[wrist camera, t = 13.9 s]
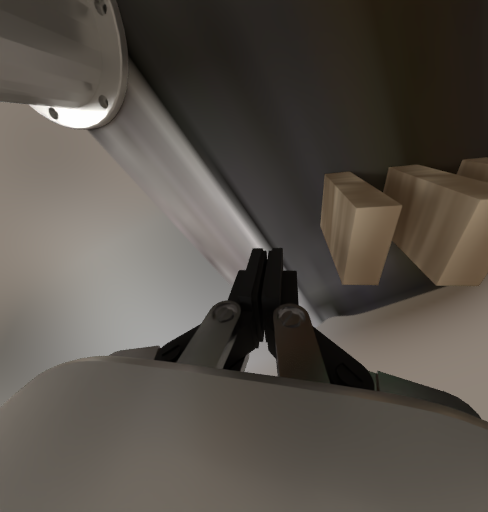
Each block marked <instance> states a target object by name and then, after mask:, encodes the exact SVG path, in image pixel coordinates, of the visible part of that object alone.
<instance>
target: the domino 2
mask: <svg viewBox="0 0 488 512" xmlns="http://www.w3.org/2000/svg"><path fill="white" fill-rule="evenodd" d="M383 193H384V194H386V195H387V196H389V197H390V198H392V199H393V200H395V201H397V202H398V203H400V204H401V205H402V209H401V212H400V215H399V218H398V222H397V225H396V228H395V231H394V235H393V238H392V241H393V242H394V243H395V244H396V245H397V246H398V247H399V248H400V249H401V250H402V251H403V252H404V253H405V254H406V255H407V256H408V257H409V258H410V259H411V260H412V261H413V262H414V263H415V264H416V265H417V266H418V268H419V269H420V270H421V271H422V272H423V273H424V274H425V275H426V276H427V277H428V278H429V279H430V280H431V281H432V282H433V283H434V284H435V285H436V286H479V285H480V284H481V282H482V281H483V279H484V277H485V276H486V275H487V273H488V183H487V182H483V181H479V180H475V179H471V178H468V177H464V176H460V175H456V174H452V173H448V172H444V171H441V170H437V169H433V168H429V167H425V166H421V165H407V166H397V167H389V169H388V174H387V178H386V182H385V186H384V190H383Z"/></svg>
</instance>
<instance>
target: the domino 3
mask: <svg viewBox="0 0 488 512" xmlns="http://www.w3.org/2000/svg"><path fill="white" fill-rule="evenodd" d="M456 175H460V176H464V177H468V178H471V179H475V180H479V181H483V182H487V183H488V157H484V158H475V159H465V160H462V162H461V165H460V167H459V169H458V172H457V174H456Z"/></svg>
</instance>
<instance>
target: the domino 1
mask: <svg viewBox="0 0 488 512" xmlns="http://www.w3.org/2000/svg"><path fill="white" fill-rule="evenodd" d="M401 209H402V205H401V204H400V203H398V202H397V201H395V200H393V199H392V198H390V197H389V196H387V195H386V194H384V193H383V192H381V191H379V190H378V189H376V188H375V187H373V186H372V185H370V184H368V183H367V182H365V181H364V180H362V179H361V178H359V177H357V176H356V175H354V174H353V173H351V172H350V171H349V172H339V173H330V174H325V177H324V189H323V201H322V213H321V225H320V226H321V229H322V232H323V234H324V237H325V240H326V242H327V245H328V248H329V250H330V253H331V255H332V258H333V261H334V263H335V266H336V269H337V271H338V274H339V276H340V279H341V282H342V284H343V285H378V283H379V280H380V277H381V274H382V270H383V267H384V264H385V261H386V257H387V254H388V251H389V248H390V244H391V241H392V238H393V235H394V231H395V228H396V225H397V222H398V218H399V215H400V212H401Z"/></svg>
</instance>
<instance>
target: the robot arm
mask: <svg viewBox="0 0 488 512" xmlns="http://www.w3.org/2000/svg"><path fill="white" fill-rule="evenodd" d="M106 7H107V12H106ZM128 73H129V67H128V49H127V43H126V37H125V31H124V26H123V22H122V19H121V15H120V12H119V8H118V5H117V2H116V0H0V102H10V103H20V104H28V105H30V106H31V107H32V108H33V109H34V110H36V111H37V112H38V113H39V114H41V115H42V116H44V117H46V118H48V119H49V120H51V121H52V122H54V123H57V124H59V125H62V126H64V127H68V128H73V129H95V128H100V127H102V126H103V125H105V124H107V123H109V122H110V121H111V120H112V119H113V118H114V117H115V116H116V114H117V113H118V111H119V109H120V107H121V106H122V104H123V100H124V97H125V94H126V90H127V83H128ZM264 330H265V338H266V342H268V350H269V351H270V353H271V354H272V355H273V356H274V357H275V358H276V363H277V373H278V377H277V376H270V375H262V374H255V373H248V372H244V371H245V368H246V365H247V362H248V359H249V353H250V352H251V351H253V350H254V349H255V348H258V347H259V342H263V337H264ZM0 512H488V422H487V421H484V420H482V419H481V418H480V416H479V415H478V414H477V413H476V412H475V411H474V410H473V409H472V408H471V407H470V406H469V405H468V404H467V403H465V402H464V401H462V400H461V399H459V398H458V397H456V396H454V395H451V394H449V393H446V392H444V391H440V390H437V389H434V388H430V387H428V386H424V385H421V384H418V383H415V382H412V381H408V380H405V379H402V378H399V377H396V376H392V375H389V374H386V373H383V372H380V371H377V374H376V373H373V372H370V371H368V370H367V369H366V368H365V367H364V366H363V365H362V364H361V363H359V362H358V361H357V360H355V359H354V358H353V357H352V356H350V355H349V354H347V353H346V352H345V351H344V350H343V349H341V348H340V347H339V346H337V345H336V344H335V343H334V342H332V341H331V340H330V339H328V338H327V337H326V336H325V335H323V334H322V333H321V332H319V331H318V330H317V329H316V328H314V327H313V326H312V323H311V320H310V317H309V314H308V312H307V311H306V310H305V309H304V308H303V307H301V306H299V305H298V288H297V271H283V249H282V248H273V249H272V251H269V253H268V259H267V252H266V251H263V249H262V248H254V249H253V250H252V253H251V256H250V259H249V262H248V265H247V269H246V270H239V271H238V274H237V277H236V279H235V282H234V285H233V287H232V290H231V293H230V296H229V298H228V301H222V302H219V303H217V304H216V305H214V306H213V307H212V308H211V309H210V311H209V313H208V314H207V316H206V317H205V319H204V320H203V322H202V323H201V324H200V325H198V326H197V327H195V328H193V329H191V330H190V331H188V332H186V333H184V334H183V335H181V336H179V337H177V338H176V339H174V340H172V341H170V342H169V343H167V344H166V345H165V346H163V347H162V348H160V346H152V347H145V348H136V349H129V350H120V351H117V352H114V353H113V354H111V355H109V356H95V357H87V358H81V359H77V360H73V361H69V362H65V363H62V364H59V365H57V366H54V367H52V368H50V369H48V370H46V371H44V372H42V373H41V374H39V375H38V376H36V377H35V378H34V379H32V380H31V381H30V382H28V383H27V384H26V385H25V386H24V387H23V388H21V389H20V390H19V391H18V392H17V393H15V394H14V395H13V396H12V397H11V398H10V399H9V400H8V401H6V402H5V403H4V404H3V405H2V406H1V407H0Z"/></svg>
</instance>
